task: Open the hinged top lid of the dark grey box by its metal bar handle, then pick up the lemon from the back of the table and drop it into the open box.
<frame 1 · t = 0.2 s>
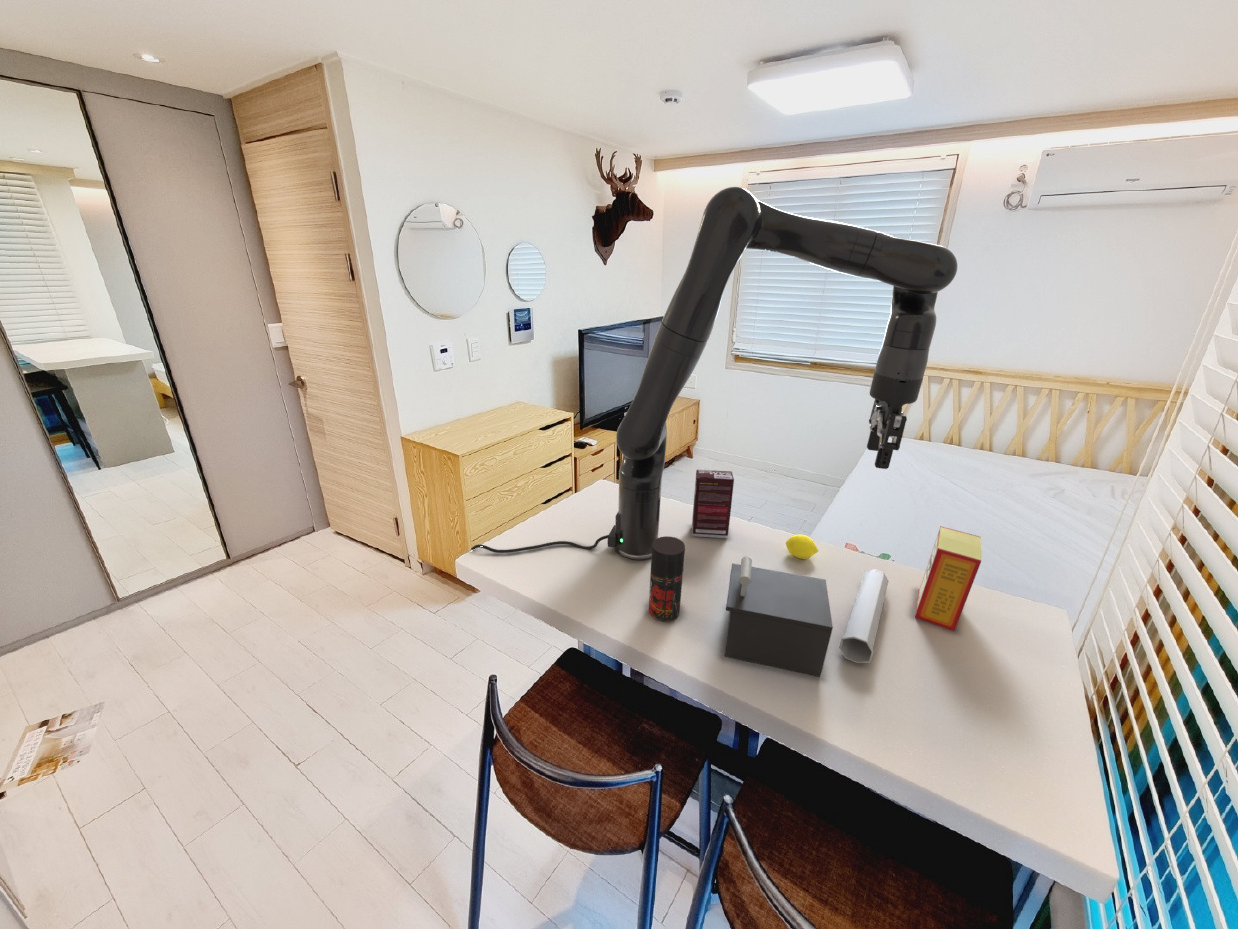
hand: (876, 458, 93), 29 cm above the table, tool pointing down, fingers open, 8 cm apart
tube: (863, 620, 96), on the table
dark grey box: (771, 640, 90), on the table
baking soda box: (935, 610, 98), on the table
lid: (779, 584, 85), point 12 cm above the table, hinge at 0.0°
lemon: (799, 557, 114), on the table
supplement box: (708, 533, 123), on the table
deodorant: (664, 611, 97), on the table
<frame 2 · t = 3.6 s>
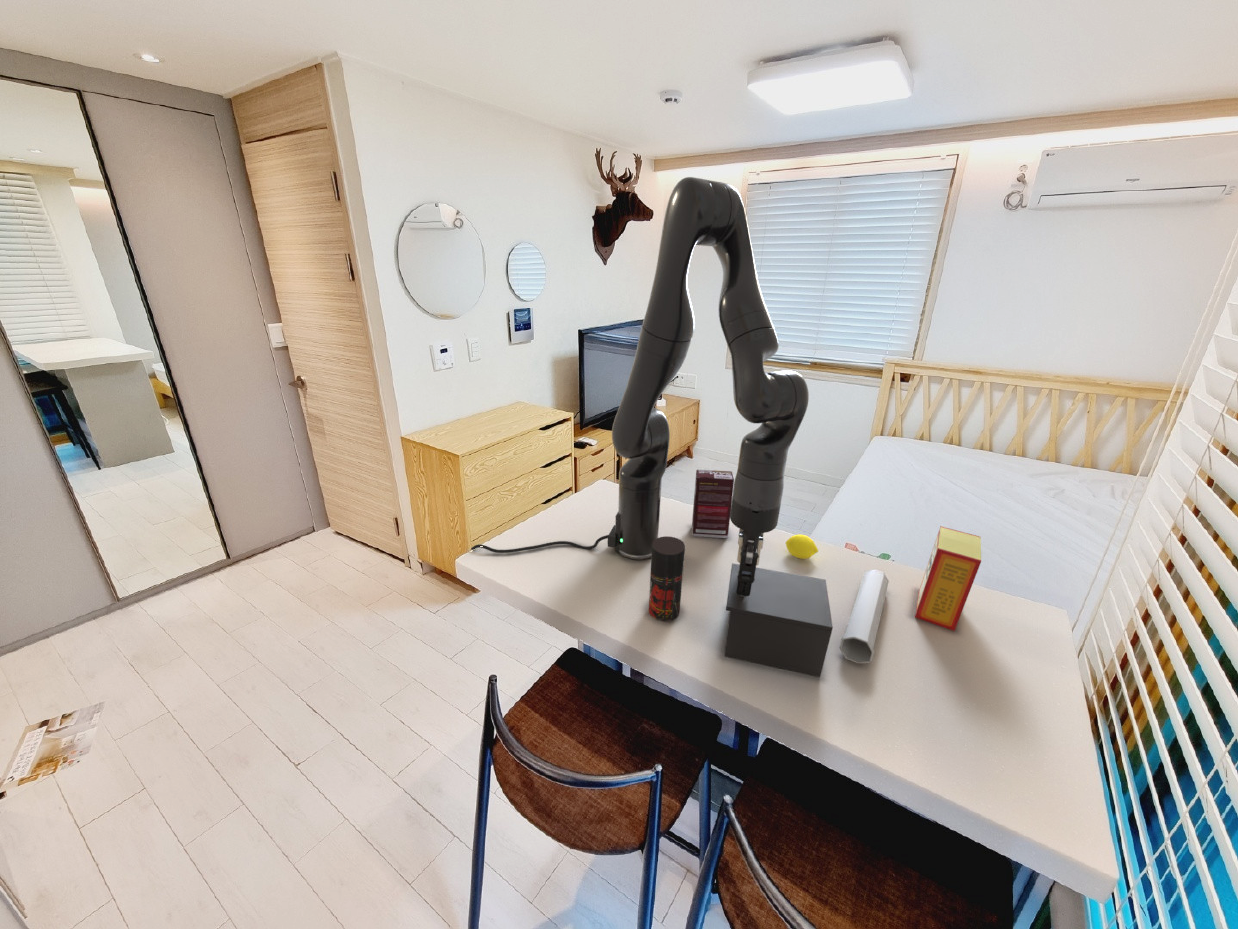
hand: (744, 582, 87), 12 cm above the table, tool pointing down, fingers closed on lid, 6 cm apart
lid: (779, 584, 85), point 12 cm above the table, hinge at 0.0°, touching gripper
everything else where it was.
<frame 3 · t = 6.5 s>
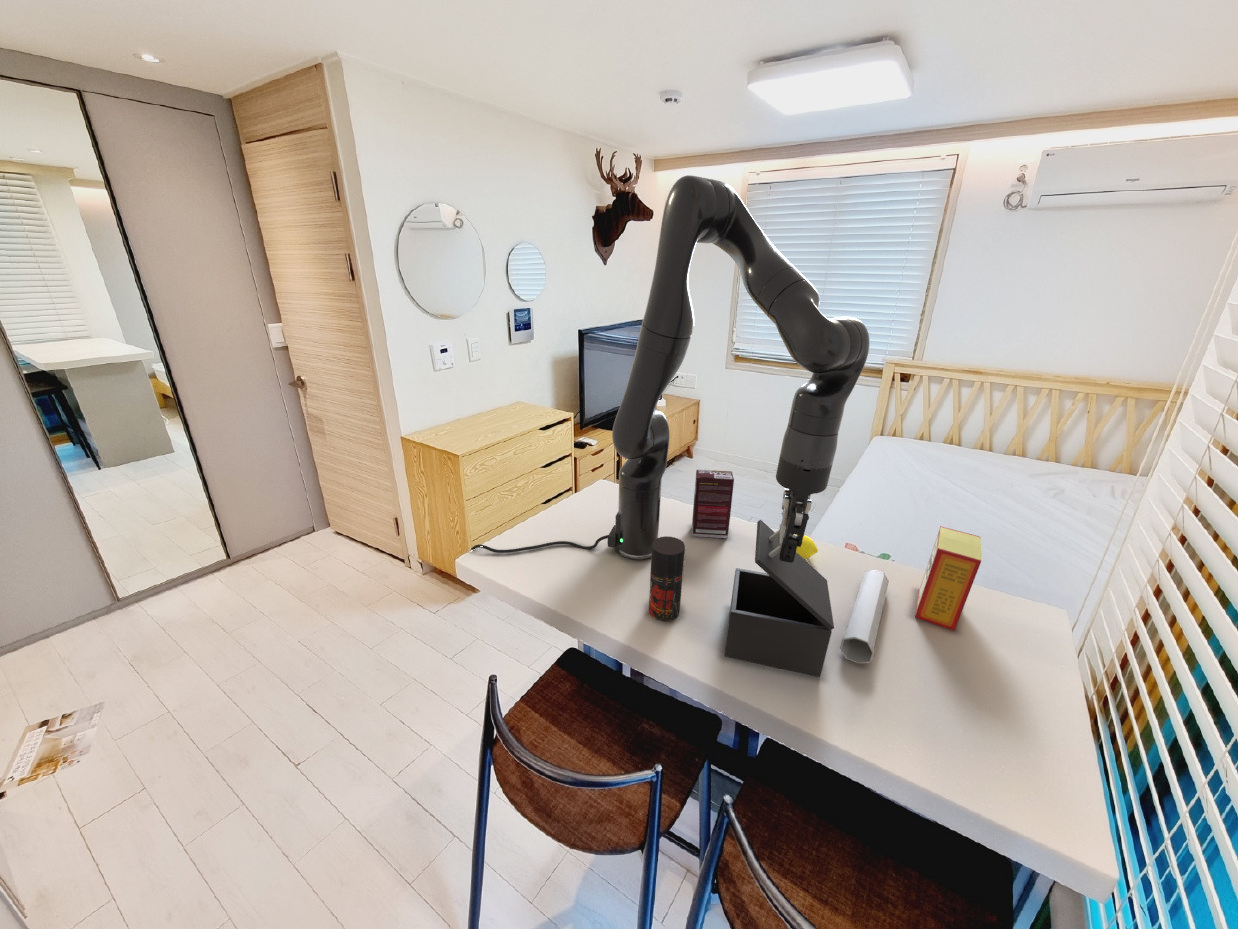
hand: (785, 548, 82), 20 cm above the table, tool pointing down, fingers closed on lid, 6 cm apart
lid: (803, 565, 82), point 17 cm above the table, hinge at 38.5°, touching gripper
everything else where it was.
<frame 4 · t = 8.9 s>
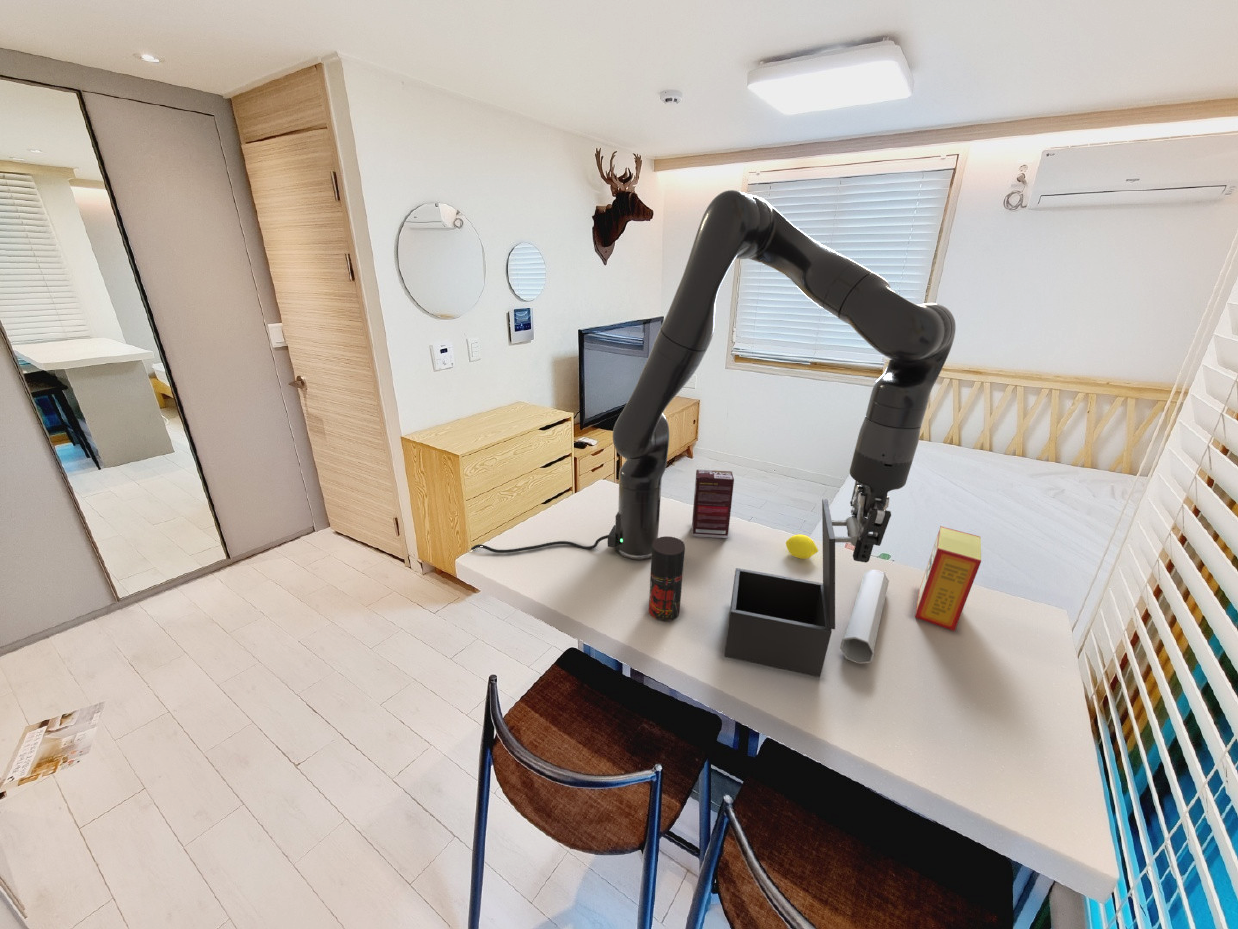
hand: (857, 548, 79), 22 cm above the table, tool pointing down, fingers closed on lid, 6 cm apart
lid: (842, 562, 80), point 19 cm above the table, hinge at 79.6°, touching gripper
everything else where it was.
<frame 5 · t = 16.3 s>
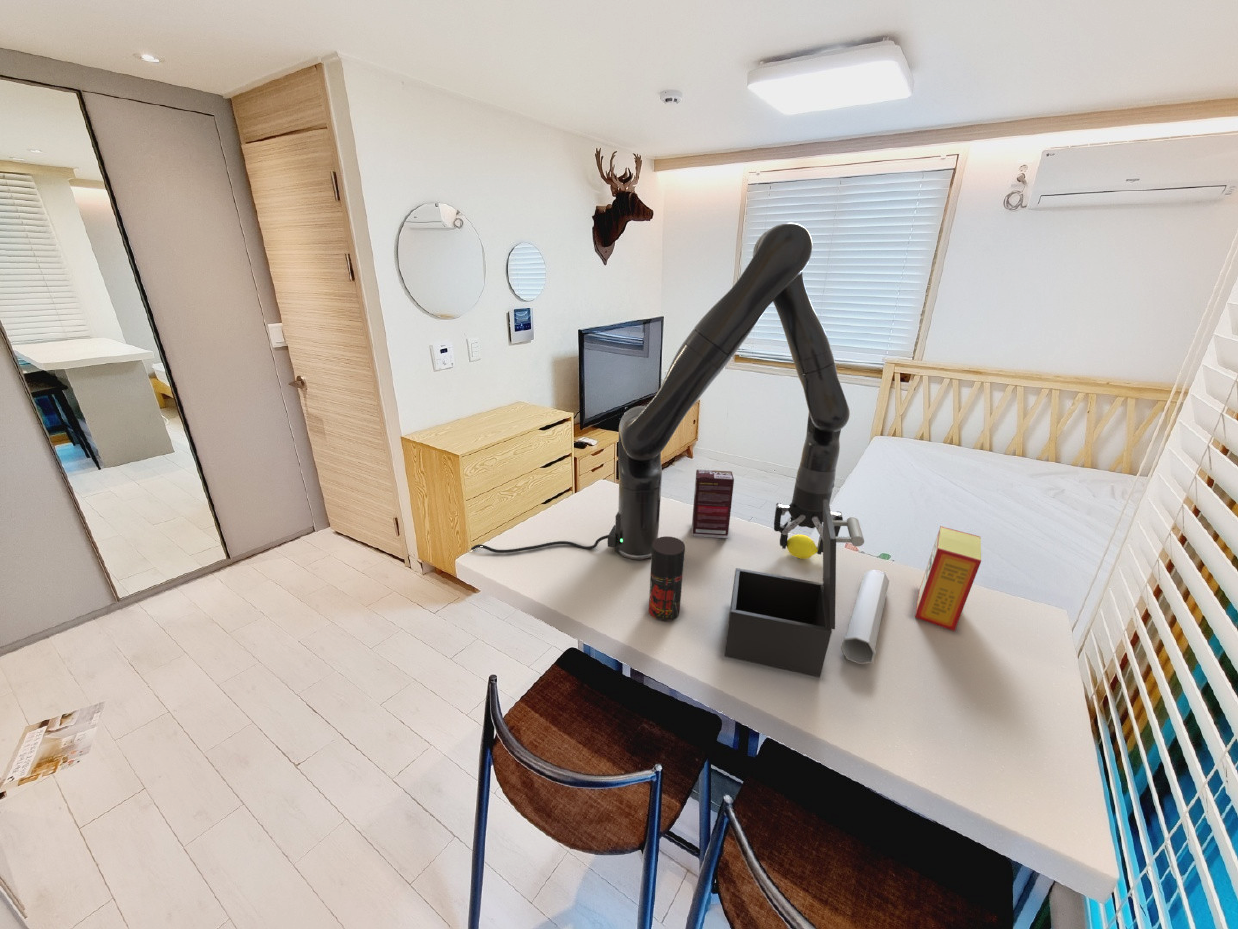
hand: (801, 549, 113), 2 cm above the table, tool pointing down, fingers closed on lemon, 7 cm apart
lid: (843, 562, 80), point 19 cm above the table, hinge at 80.0°
lemon: (799, 557, 114), on the table, touching gripper
everything else where it was.
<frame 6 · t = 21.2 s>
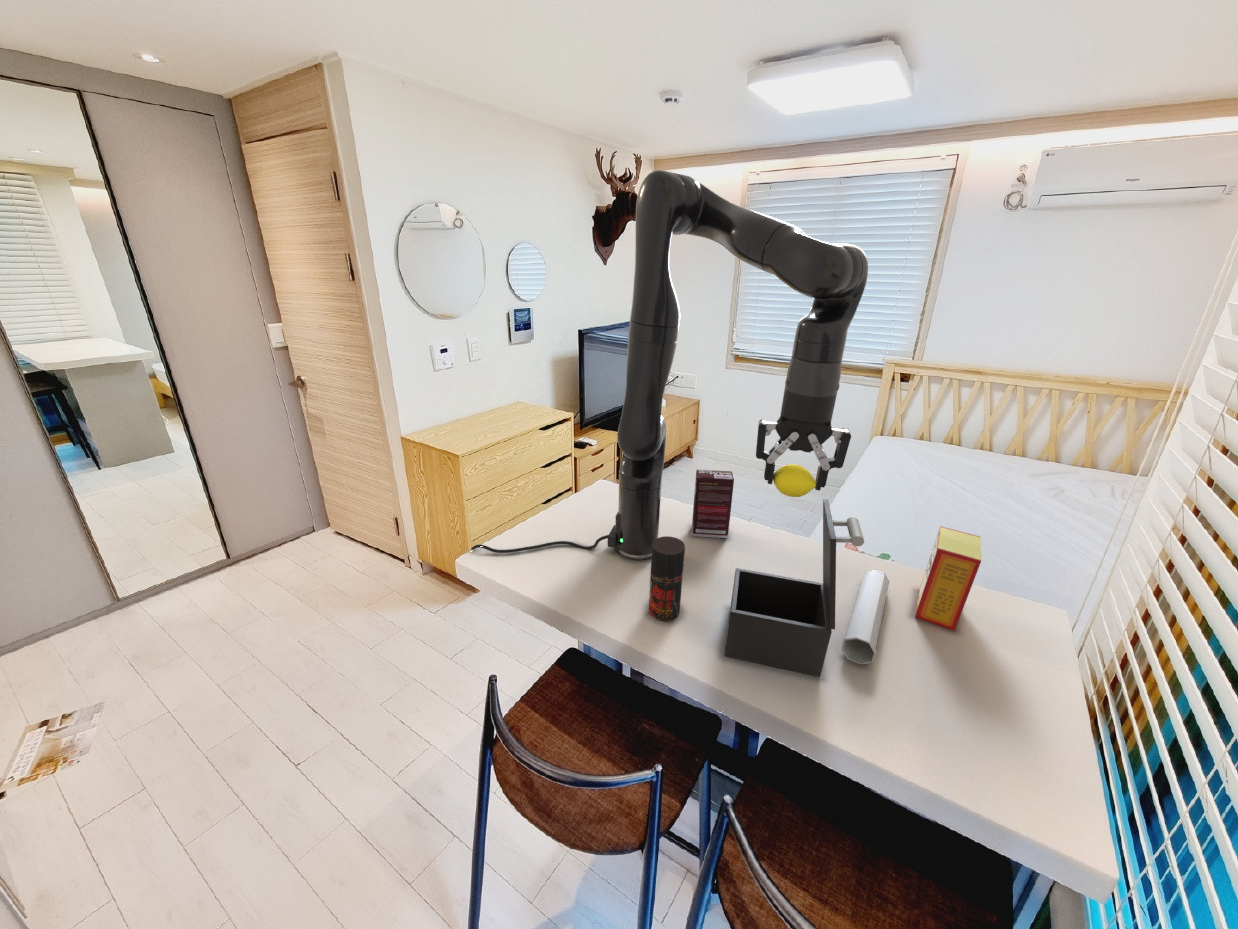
hand: (793, 485, 83), 29 cm above the table, tool pointing down, fingers closed on lemon, 7 cm apart
lemon: (791, 496, 84), point 27 cm above the table, touching gripper
everything else where it was.
when the fingers open (11 cm above the table, at t = 26.5 s): lemon drops 8 cm, resting on dark grey box.
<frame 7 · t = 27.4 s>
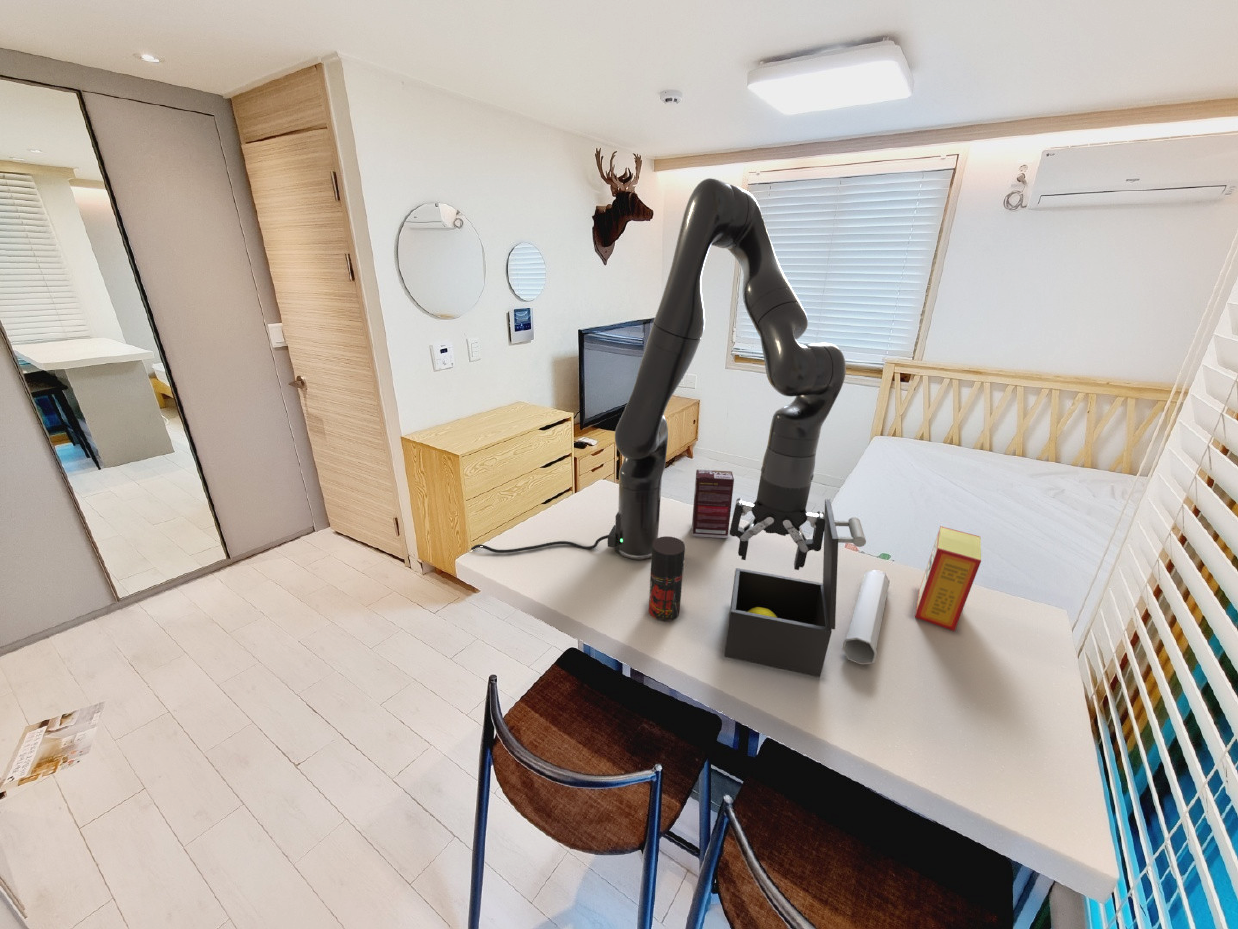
hand: (769, 562, 84), 16 cm above the table, tool pointing down, fingers open, 8 cm apart
lid: (844, 562, 80), point 19 cm above the table, hinge at 81.0°
lemon: (760, 635, 90), point 1 cm above the table, touching dark grey box
everything else where it was.
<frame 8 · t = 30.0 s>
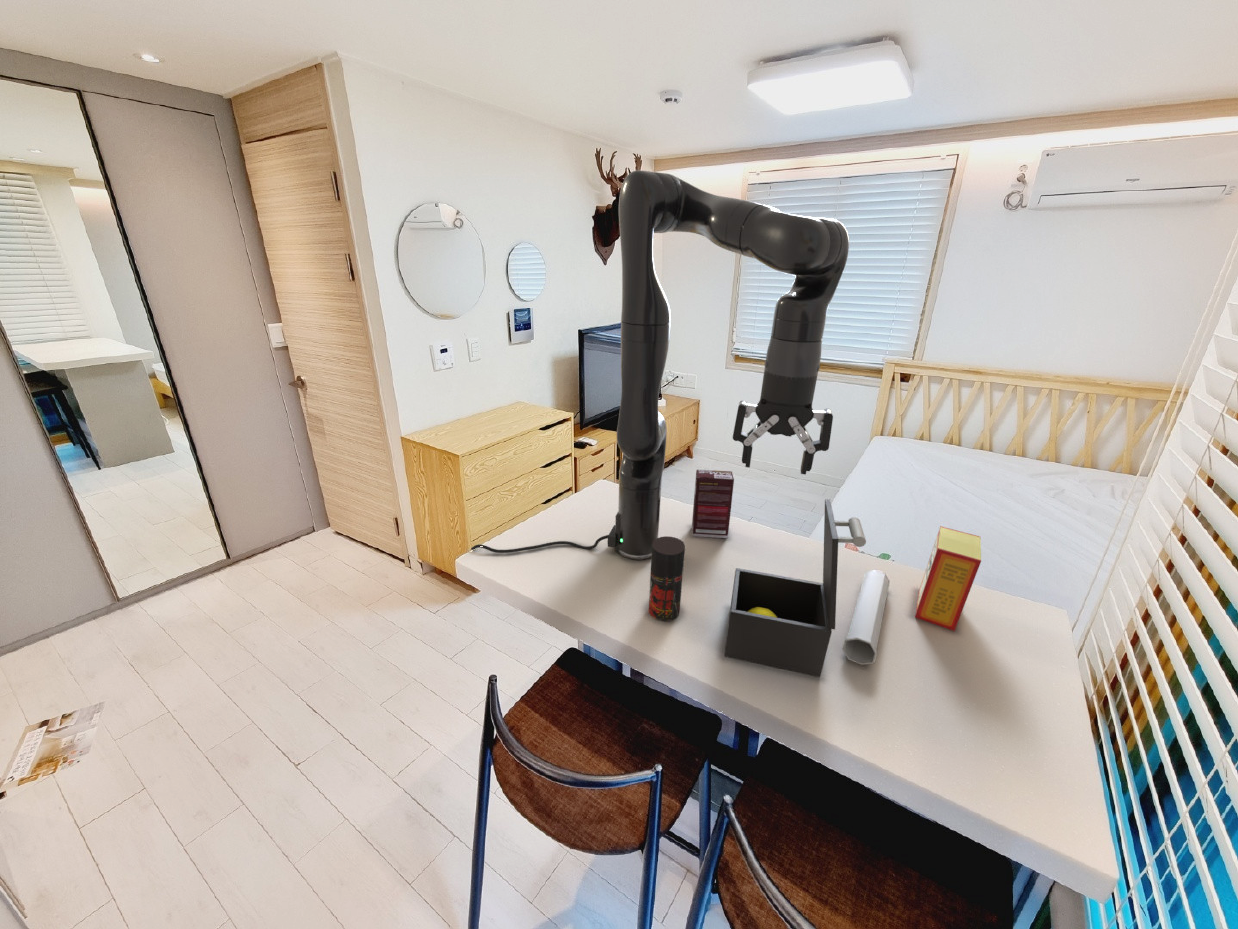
hand: (774, 468, 80), 32 cm above the table, tool pointing down, fingers open, 8 cm apart
nothing on the table moved.
at the end: lid at +81° (first picture: +0°); lemon inside the target area in the dark grey box (2.0 cm from its centre), point 0.6 cm above the dark grey box's base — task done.
